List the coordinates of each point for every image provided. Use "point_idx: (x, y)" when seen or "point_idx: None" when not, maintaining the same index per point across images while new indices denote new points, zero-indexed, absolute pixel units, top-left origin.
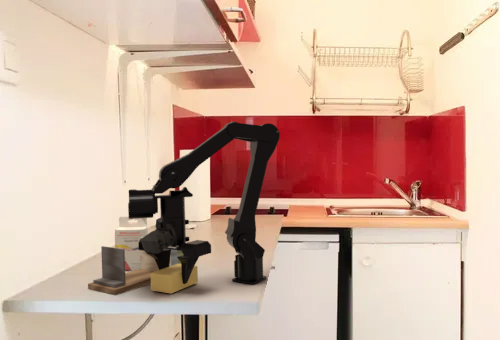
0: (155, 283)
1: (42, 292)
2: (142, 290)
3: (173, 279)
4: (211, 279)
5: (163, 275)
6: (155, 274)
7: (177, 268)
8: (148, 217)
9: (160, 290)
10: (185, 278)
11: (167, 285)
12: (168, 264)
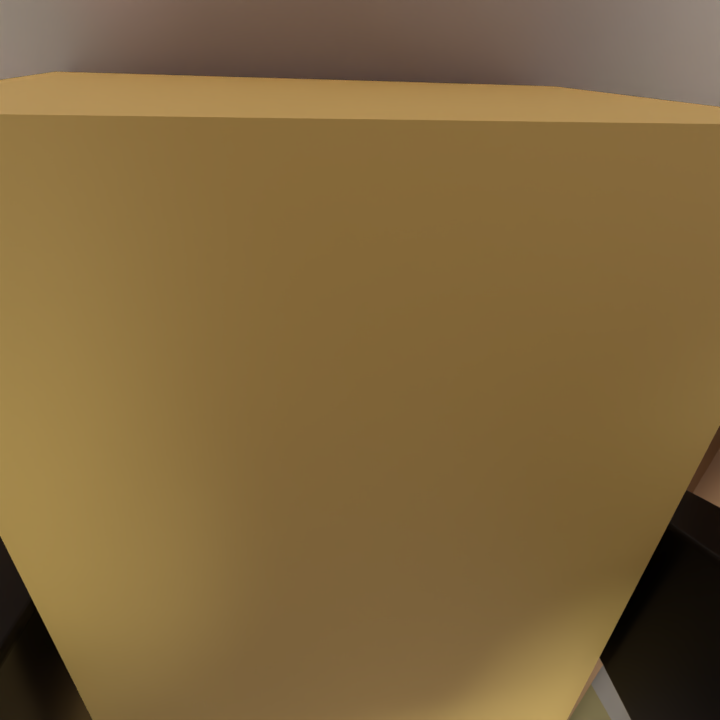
0: (514, 94)
1: None
2: (699, 90)
3: None
4: None
5: (273, 115)
6: (657, 118)
7: (381, 689)
8: None
9: (341, 81)
10: None
11: (122, 84)
12: (637, 700)
